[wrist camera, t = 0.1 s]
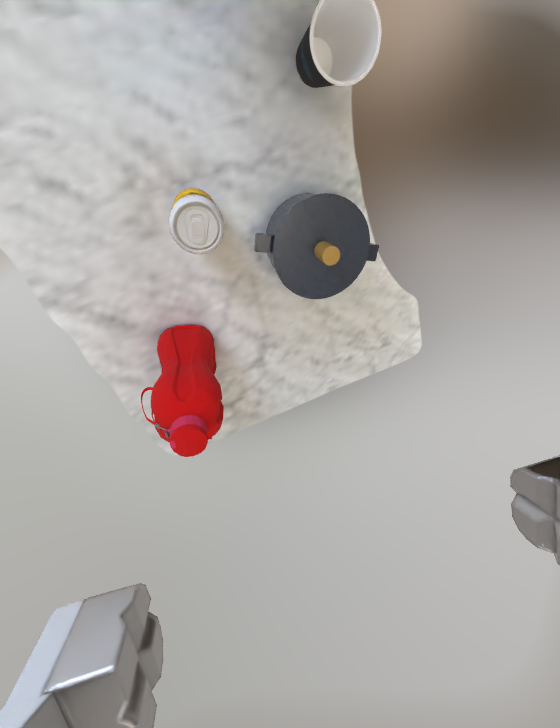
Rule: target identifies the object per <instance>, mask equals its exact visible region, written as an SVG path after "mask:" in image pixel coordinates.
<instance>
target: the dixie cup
mask: <svg viewBox="0 0 560 728" xmlns="http://www.w3.org/2000/svg"><path fill="white" fill-rule="evenodd" d="M381 34H382V29H381V20H380V15H379V12H378V8H377V6H376V4H375V2H374V0H320V1H319V3H318V5H317V7H316V9H315V11H314V14H313V17H312V21H311V24H310V25H309V27H308V29H307V31H306V33H305V35H304V37H303V39H302V41H301V42H300V44H299V47H298V50H297V54H296V68H297V72H298V75H299V77H300V78H301V80H302V81H303V82H304V83H305V84H307V85H308V86H310V87H313V88H319V87H325V86H332V85H337V86H350V85H353V84H356V83H357V82H359V81H361V80H362V79H363V78H364V77H365V76H366V75H367V74H368V73H369V71H370V70H371V68H372V67H373V65H374V63H375V61H376V59H377V56H378V52H379V48H380V44H381Z"/></svg>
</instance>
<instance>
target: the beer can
mask: <svg viewBox="0 0 560 728" xmlns="http://www.w3.org/2000/svg"><path fill="white" fill-rule="evenodd" d="M169 229H170V232H171V235H172V237H173V239H174V240H175V242H176V243H177V244H178V245H179V246H180V247H181V248H183V249H184V250H186V251H188V252H191V253H195V254H203V253H207V252H210V251H212V250H213V249H215V248H216V247H217V246H218V245H219V243H220V242H221V240H222V238H223V235H224V220H223V217H222V214H221V212H220V211H219V209H218V208H217V206H216V205H215V203H214V202H213V200H212V199H211V197H210V196H209V195H208V194H207V193H205V192H204V191H202V190H199V189H195V188H190V189H186V190H183V191H182V192H180V193H179V194H178V195H177V197H176V198H175V201H174V203H173V206H172V210H171V213H170V216H169Z"/></svg>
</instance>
